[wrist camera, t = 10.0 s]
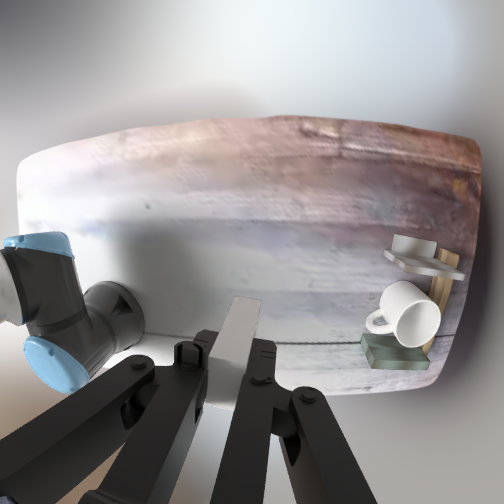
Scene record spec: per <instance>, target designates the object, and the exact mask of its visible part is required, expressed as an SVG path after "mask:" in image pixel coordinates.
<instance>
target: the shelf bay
mask: <svg viewBox="0 0 504 504" xmlns="http://www.w3.org/2000/svg"><path fill="white" fill-rule="evenodd" d="M436 245H437V242H433V241H428V240H423V239H418V238H413V237H408V236H403V235H398V234H394V239H393V244H392V249H391V251H390V250H385V251H384V256H385V257H387V258H388V259H389V260H390V261H392V262H393V263H394V264H396V265H397V266H398V267H399V268H401V269H402V270H403V271H404V272H410V273H417V274H423V275H429V276H433V279H432V283H431V287H430V290H429V294H428V297H429V298H430V299H431V300H432V301H433V302H434V303H435V304H436V305H437V306H438V307H439V310H440V313H441V318H442V315H443V312H444V309H445V306H446V303H447V300H448V296H449V293H450V290H451V286H452V283H453V279H455V280H462V281H463V280H464V276H465V274H463V273H461V272H460V271H458V270H456V268H457V264H458V260H459V255H457V254H455V253H453V252H451V251H449V250H447V249H443V248H440V251H439V255H438V259H435V258H434V254H435V249H436ZM434 337H435V335H434V336H433V337H432V338H431V339H430V340H429V341H428V342H427V343H425V344H423V345H421V346H418V347H412V348H411V347H406V346H404V345H402V344H401V343H400V342H399V341H398V340H397V338H396V337H391V336H379V335H368V334H363V335H362V338H361V342H360V343H361V345H362V347H363V350H364V352H365V355H366V357H367V359H368V362H369V364H370V367H371V369H392V370H427V369H428V367H429V365H430V362H431V361H430V360H429V358H428V357H427V355H428V352H429V350H430V347H431V345H432V342H433V340H434Z"/></svg>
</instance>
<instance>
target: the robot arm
mask: <svg viewBox="0 0 504 504" xmlns="http://www.w3.org/2000/svg"><path fill="white" fill-rule="evenodd" d="M3 246H4V249H1V250H0V323H3V322H5V321H9V322H11V323H13V324H14V325H16V326H21V325H23V324H26V326H27V328H28V331H29V334H30V336H29V337H27V339H26V341H25V342H24V354H25V357H26V359H27V361H28V363H29V365H30V366H31V368H32V369H33V371H34V372H35V373H36V374H37V376H38V377H39V378H40V379H41V380H42V381H44V382H45V383H46V384H47V385H49V386H50V387H51V388H53V389H55V390H57V391H59V392H62V393H66V394H71V395H70V396H68V397H67V398H65V399H64V400H62V401H60V402H59V403H57V404H56V405H54V406H53V407H51V408H50V409H48V410H47V411H45V412H44V413H42V414H40V415H39V416H37V417H36V418H34V419H33V420H31V421H30V422H28V423H27V424H25V425H23V426H22V427H20V428H19V429H17V430H15V431H14V432H12V433H11V434H9V435H8V436H6V437H4V438H3V439H1V440H0V504H55V503H56V502H58V501H59V500H60V499H61V498H62V497H64V496H65V495H66V494H67V493H68V492H70V491H71V490H72V489H73V488H74V487H75V486H77V485H78V484H79V483H80V482H81V481H82V480H84V479H85V478H86V477H87V476H88V475H89V474H91V473H92V472H93V471H94V470H95V469H96V468H97V467H98V466H100V465H101V464H102V463H103V462H104V461H105V460H106V459H107V458H109V457H110V456H111V455H112V454H113V453H114V452H115V451H116V450H117V449H118V448H119V447H121V446H122V445H123V444H124V443H125V444H124V446H123V447H122V449H121V451H120V452H119V454H118V456H117V457H116V459H115V461H114V463H113V464H112V466H111V468H110V469H109V471H108V473H107V474H106V476H105V478H104V479H103V481H102V483H101V484H100V486H99V487H98V488H97V489H96V490H89V491H88V492H86V493H85V494H84V495H83V496H82V498H81V499H80V501H79V502H78V504H168V503H169V501H170V498H171V495H172V493H173V490H174V487H175V485H176V482H177V480H178V477H179V474H180V472H181V469H182V466H183V464H184V461H185V458H186V456H187V453H188V450H189V448H190V445H191V442H192V440H193V437H194V434H195V432H196V429H197V426H198V424H199V421H200V418H201V415H202V413H203V404H204V401H206V402H205V405H209V406H214V407H218V408H223V409H228V410H233V411H234V413H233V417H232V421H231V425H230V429H229V433H228V437H227V441H226V445H225V448H224V452H223V456H222V460H221V463H220V467H219V471H218V475H217V478H216V483H215V486H214V490H213V493H212V497H211V500H210V504H263V498H264V490H265V481H266V473H267V464H268V455H269V446H270V435H271V433H272V434H274V435H277V436H279V442H280V445H281V449H282V453H283V456H284V460H285V464H286V467H287V471H288V475H289V478H290V482H291V485H292V489H293V493H294V495H295V500H296V503H297V504H377V502H376V500H375V498H374V496H373V494H372V492H371V490H370V487H369V486H368V483H367V481H366V480H365V477H364V475H363V473H362V471H361V469H360V467H359V465H358V463H357V461H356V459H355V457H354V455H353V453H352V451H351V449H350V447H349V445H348V443H347V441H346V439H345V437H344V435H343V433H342V431H341V429H340V427H339V425H338V423H337V421H336V419H335V417H334V415H333V413H332V411H331V409H330V407H329V405H328V403H327V401H326V399H325V396H324V395H323V394H322V392H320V391H319V390H317V389H315V388H312V387H306V386H303V387H298V388H296V389H294V390H293V391H290V390H287V389H285V388H283V387H281V386H280V385H278V383H277V382H276V381H275V377H274V376H275V363H276V350H277V347H276V345H275V343H274V342H273V341H269V340H263V339H257V338H255V335H256V329H257V323H258V317H259V310H260V304H261V300H258V299H252V298H246V297H240V296H235V299H234V301H233V303H232V305H231V308H230V310H229V312H228V314H227V316H226V319H225V321H224V323H223V325H222V328H221V330H220V332H214V331H209V330H202V331H201V332H199V333H197V335H196V337H195V338H194V340H193V341H182V342H179V343H177V344H176V345H175V346H174V363H173V365H171V366H154V361H153V360H152V359H151V358H149V357H148V356H145V355H131V356H129V357H127V358H125V359H124V360H122V361H121V362H119V363H118V364H116V365H115V366H113V367H112V368H110V369H109V370H107V371H106V372H104V373H103V374H102V375H100V376H98V377H97V378H95V379H94V380H93V381H91V382H89V381H90V379H91V378H92V377H93V376H94V375H95V374H96V373H97V372H98V371H99V369H100V368H101V367H102V366H103V365H104V364H105V363H106V362H107V361H108V360H109V359H110V358H111V357H112V356H113V355H114V354H117V353H119V352H122V351H125V350H128V349H130V348H131V347H133V346H134V345H135V344H136V343H137V342H138V341H139V340H140V338H141V337H142V334H143V331H144V318H143V314H142V311H141V308H140V306H139V304H138V303H137V301H136V300H135V298H134V297H133V296H132V295H131V294H130V293H129V292H128V291H127V290H126V289H125V288H123V287H122V286H120V285H118V284H116V283H113V282H108V281H104V282H99V283H97V284H95V285H93V286H92V287H90V288H89V289H88V290H87V291H86V292H85V293H84V295H83V294H82V290H81V286H80V282H79V278H78V274H77V270H76V266H75V262H74V259H75V257H74V255H73V254H72V250H71V246H70V242H69V239H68V237H67V235H66V234H64V233H63V232H59V231H56V232H42V233H33V234H26V235H20V236H13V237H8V238H6V239H4V244H3ZM84 385H85V386H84ZM72 393H73V394H72ZM205 398H206V400H205Z"/></svg>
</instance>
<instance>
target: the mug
mask: <svg viewBox="0 0 504 504" xmlns="http://www.w3.org/2000/svg"><path fill="white" fill-rule="evenodd" d="M379 307H380V309H378V310H376V311H374V312H373V313H371V314H370V315H369V316H368V317H367V319H366V328H367V329H368V330H369V331H370V332H372V333H374V334H388V333H392V332H393V333H394V335H395V336H396V338H397V340H398V341H399V342H400V343H401V344H402V345H404V346H406V347H411V348H412V347H418V346H421V345H423V344H425V343H427V342H428V341H429V340H430V339H431V338H432V337H433V336H434V335H435V334H436V332H437V330H438V328H439V326H440V322H441V313H440V310H439V307H438V306H437V305H436V304H435V303H434V302H433V301H432V300H431V299H430V298H429V297H428V296H426V295H425V294H424V293H423V292H422V291H421V290H420V289H418V288H417V287H416V286H415V285H414V284H412V283H410V282H408V281H397V282H394V283H392V284H391V285H389V286H388V287H387V288H386V289H385V290H384V292H383V294H382V296H381V298H380V303H379ZM382 316H383V318H384V319H385V321H386V322H387V324H386V325H382V326H377V325H374V324H373V321H374V320H375V319H377V318H379V317H382Z"/></svg>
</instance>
